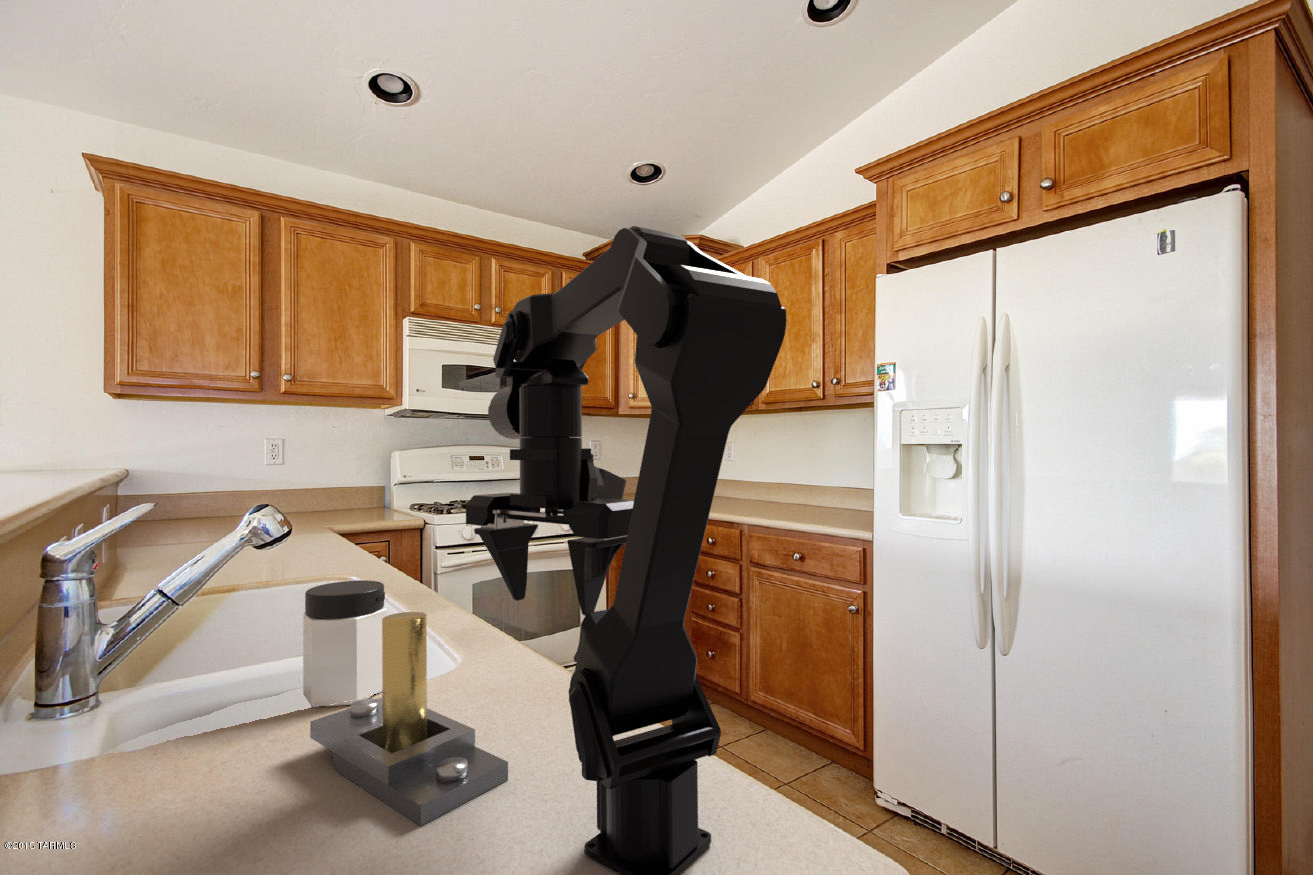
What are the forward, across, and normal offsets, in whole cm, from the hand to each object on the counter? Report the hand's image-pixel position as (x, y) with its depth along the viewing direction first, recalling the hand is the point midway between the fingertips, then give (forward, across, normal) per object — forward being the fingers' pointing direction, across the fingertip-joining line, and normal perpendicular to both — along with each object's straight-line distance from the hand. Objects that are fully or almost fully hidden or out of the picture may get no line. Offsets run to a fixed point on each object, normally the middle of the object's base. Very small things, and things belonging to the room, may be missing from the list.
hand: (552, 606), depth 58 cm
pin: (+13, +8, +10) cm, 18 cm away
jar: (+13, +29, +5) cm, 32 cm away
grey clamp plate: (+13, +8, +10) cm, 18 cm away
